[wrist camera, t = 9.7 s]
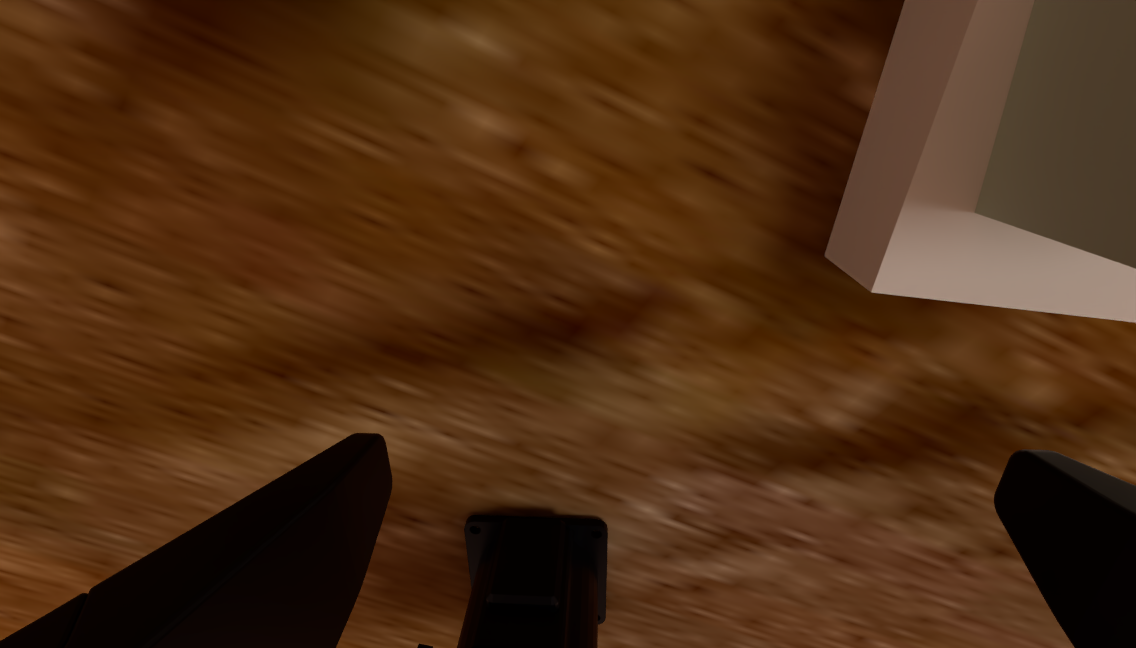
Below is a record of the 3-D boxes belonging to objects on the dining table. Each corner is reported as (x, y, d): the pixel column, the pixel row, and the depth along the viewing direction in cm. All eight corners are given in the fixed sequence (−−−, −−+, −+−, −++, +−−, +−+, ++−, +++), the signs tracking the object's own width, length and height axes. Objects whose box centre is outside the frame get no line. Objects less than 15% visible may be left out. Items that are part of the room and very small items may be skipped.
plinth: (1099, 284, 19) (1219, 332, 15) (819, 252, 19) (871, 292, 15) (1338, -146, 14) (1603, -228, 10) (954, -186, 14) (1080, -281, 10)
